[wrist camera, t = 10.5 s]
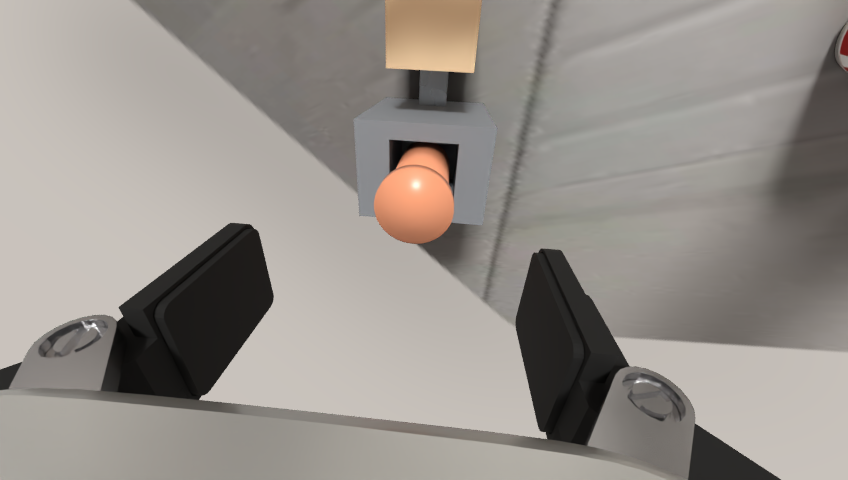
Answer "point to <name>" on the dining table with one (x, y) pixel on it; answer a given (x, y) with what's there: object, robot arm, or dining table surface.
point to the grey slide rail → (433, 88)
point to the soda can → (842, 48)
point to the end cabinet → (444, 125)
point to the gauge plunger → (416, 195)
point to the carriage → (432, 34)
